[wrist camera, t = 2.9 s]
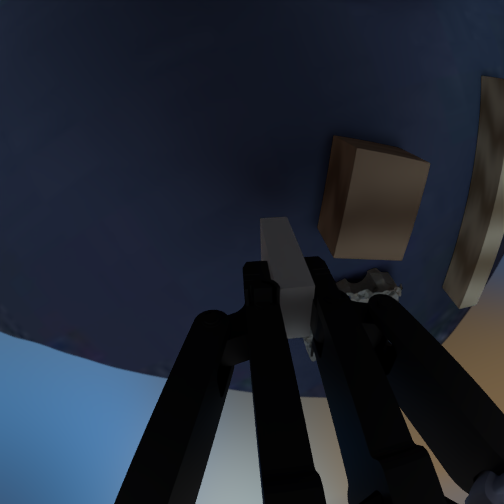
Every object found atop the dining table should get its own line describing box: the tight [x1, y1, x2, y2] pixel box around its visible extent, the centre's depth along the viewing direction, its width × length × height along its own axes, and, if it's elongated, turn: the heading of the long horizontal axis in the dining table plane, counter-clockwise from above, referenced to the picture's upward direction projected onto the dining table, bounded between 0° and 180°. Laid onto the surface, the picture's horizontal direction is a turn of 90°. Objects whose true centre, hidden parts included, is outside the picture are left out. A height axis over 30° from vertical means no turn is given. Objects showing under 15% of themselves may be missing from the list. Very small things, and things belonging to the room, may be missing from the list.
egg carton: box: [303, 268, 403, 361], centre depth 29 cm, size 11×8×4 cm
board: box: [442, 76, 504, 309], centre depth 23 cm, size 24×3×4 cm, turn 2°
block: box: [317, 135, 430, 261], centre depth 22 cm, size 8×6×5 cm
